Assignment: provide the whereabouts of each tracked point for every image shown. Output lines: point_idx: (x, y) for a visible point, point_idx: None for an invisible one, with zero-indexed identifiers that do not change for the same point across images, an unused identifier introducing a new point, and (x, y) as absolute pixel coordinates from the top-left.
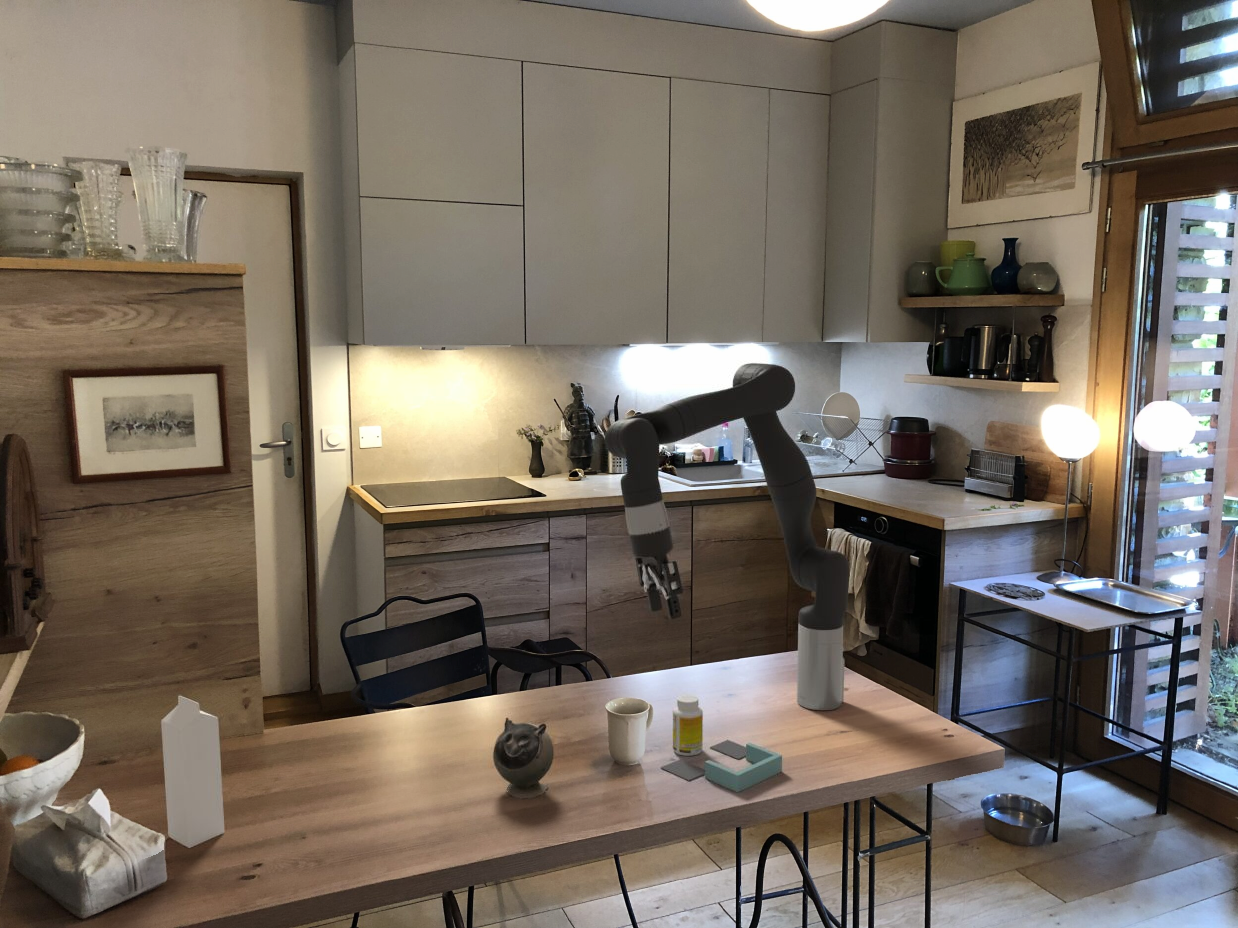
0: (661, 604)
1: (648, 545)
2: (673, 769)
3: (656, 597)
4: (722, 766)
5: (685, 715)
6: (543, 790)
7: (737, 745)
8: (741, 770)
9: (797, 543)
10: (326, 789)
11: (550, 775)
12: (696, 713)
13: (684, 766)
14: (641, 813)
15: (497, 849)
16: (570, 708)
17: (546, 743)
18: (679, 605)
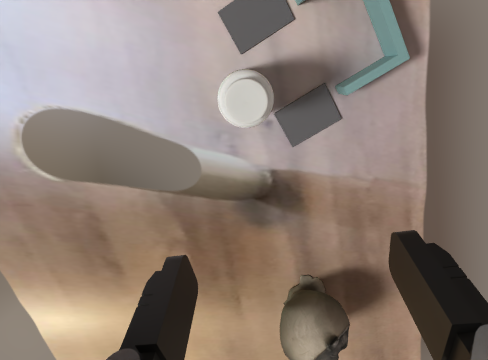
0: (180, 267)
1: None
2: (303, 131)
3: (176, 318)
4: (371, 72)
5: (270, 111)
6: (314, 280)
7: (244, 1)
8: (395, 45)
9: None
10: None
11: (277, 270)
12: (270, 88)
13: (298, 113)
14: (400, 194)
15: (412, 320)
16: (67, 227)
17: (338, 322)
18: (444, 270)
